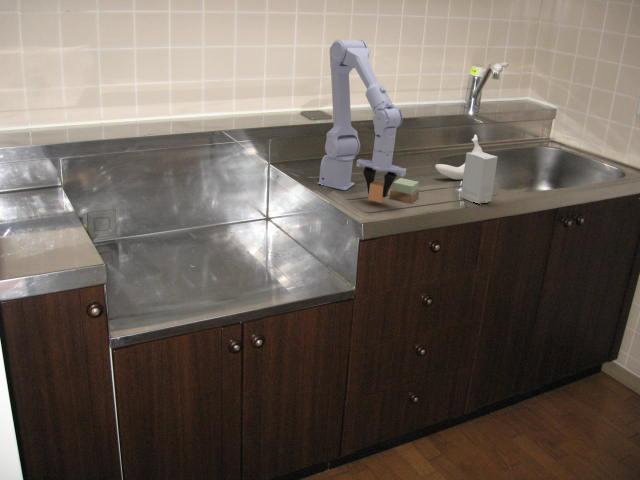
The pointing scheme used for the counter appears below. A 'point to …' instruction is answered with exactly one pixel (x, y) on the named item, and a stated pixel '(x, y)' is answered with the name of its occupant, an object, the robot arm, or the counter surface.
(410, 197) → the walnut slab
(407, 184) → the sage block
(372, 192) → the terracotta block
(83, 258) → the counter surface
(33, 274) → the counter surface
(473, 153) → the skincare box
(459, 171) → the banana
